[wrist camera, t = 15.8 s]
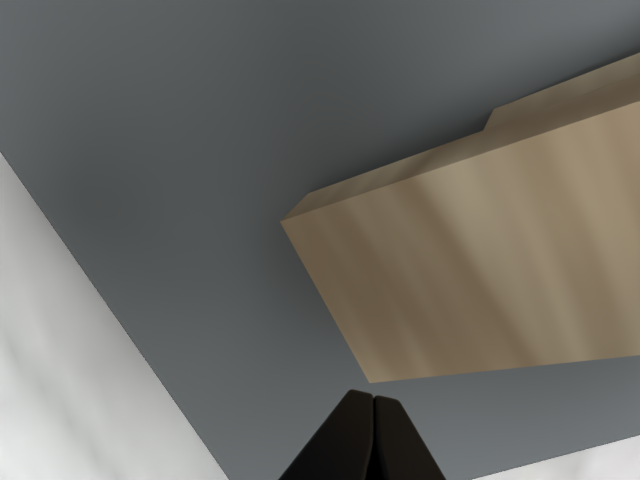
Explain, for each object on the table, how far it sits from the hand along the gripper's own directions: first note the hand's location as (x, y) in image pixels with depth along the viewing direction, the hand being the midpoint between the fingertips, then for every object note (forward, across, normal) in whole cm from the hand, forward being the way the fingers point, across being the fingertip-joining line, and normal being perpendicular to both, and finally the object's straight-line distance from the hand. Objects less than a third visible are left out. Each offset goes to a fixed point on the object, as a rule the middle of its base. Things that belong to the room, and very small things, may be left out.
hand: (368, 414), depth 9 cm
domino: (+5, +1, +1) cm, 5 cm away
